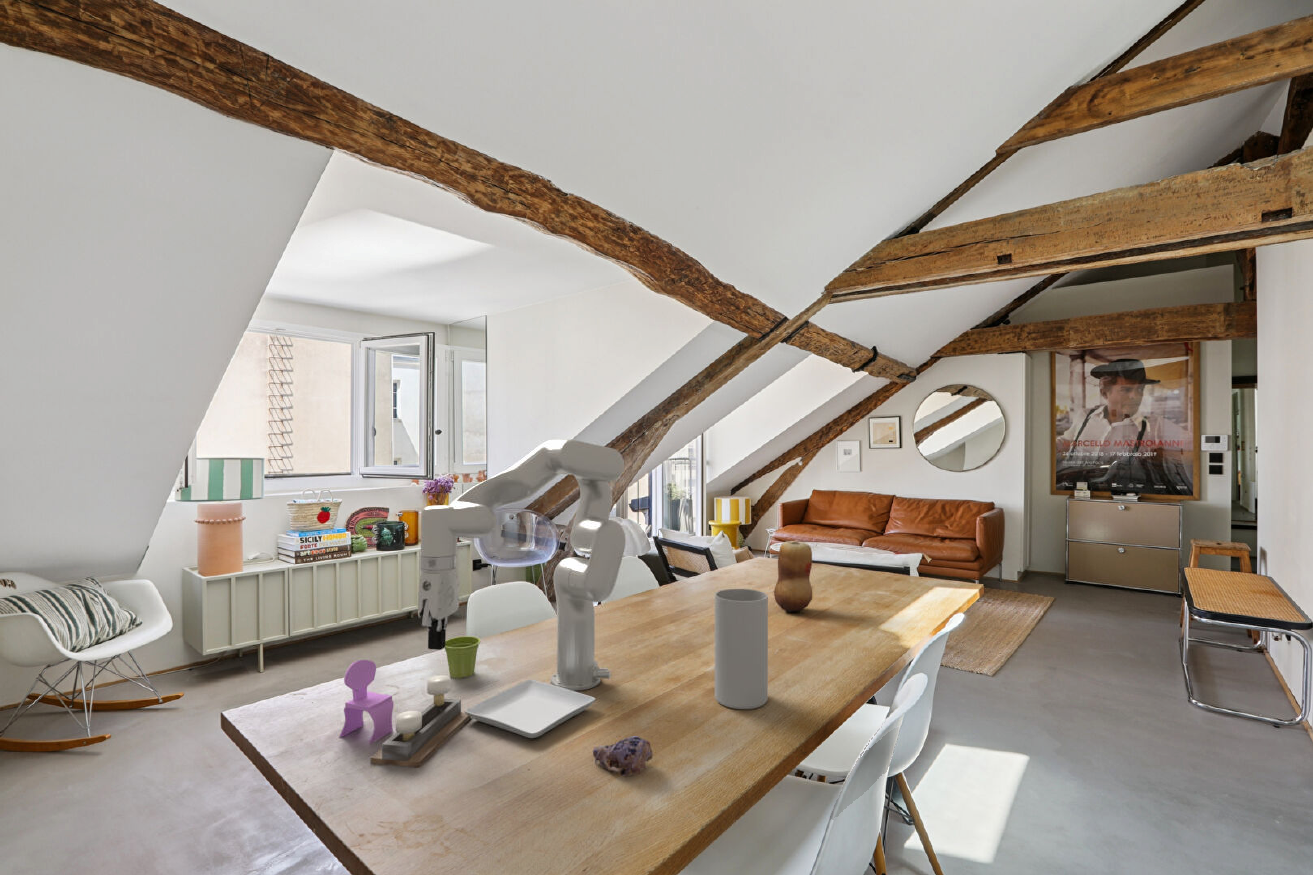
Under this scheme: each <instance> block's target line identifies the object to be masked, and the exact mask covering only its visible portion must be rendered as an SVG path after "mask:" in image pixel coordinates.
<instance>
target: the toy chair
mask: <svg viewBox="0 0 1313 875" xmlns="http://www.w3.org/2000/svg"><path fill="white" fill-rule="evenodd" d="M376 672H377V665H376V663H375V662H374V661H372V660H368V659H360V660H356V661H354V662H352V663H351V664H350V665H349V667H348V668H347V670H346V672H345V674H344V678H343V681H344V684H345V686H346V687H348V688H349V689H351V690H352V691H351V692H352V699H350V700H348V701H345V703H344V704H345V705H344V709H343V713H344V718H345V719H344V724H343V727H342V729H341V732H340V734H339V736H338V737H339V738H342V737H344V736H346V735H347V734H350V733H351V732H353V731H355V730H357V729H359V728H361V727H363V726H364V725H365V722H364V712H366V713H368V714H369V716H370V718H371V719H372V722H373V724H374V727H373V732H372V735H371V738H370V740H369V742H368V743H369V744H372V743H374V742H377V741H378V740H379V739H381V738H382V737H385V736H386V735H387V734H390V733H391V732H393V730H394V729H393V710H394V700H393V695H391V694H382V693H378V692H374V691H373V692H372V691H368V686H369V685H371V683H372V682H374V681H375V678H376Z"/></svg>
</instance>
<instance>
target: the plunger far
mask: <svg viewBox="0 0 1313 875" xmlns="http://www.w3.org/2000/svg"><path fill="white" fill-rule="evenodd" d="M451 679H452V677H451V676H450V675H449V676H448V675H435V676H432V677H429V678H428V679H427V680H426V681H427V682H426V685H427V686H426V688H427V689H426V692H427V694H428V695H430V696H433V703H434V705H435V706H440V705H443V704H444V699H445V694H447V693H450V692H451V691H452V689H451V686H452V685H451V684H452V683H451V682H452V680H451Z"/></svg>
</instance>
